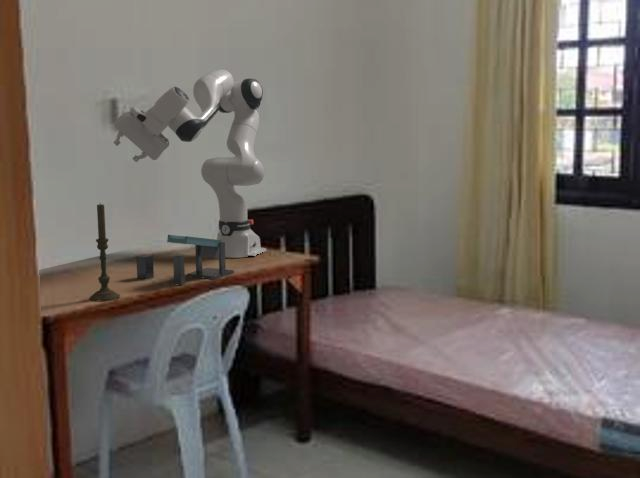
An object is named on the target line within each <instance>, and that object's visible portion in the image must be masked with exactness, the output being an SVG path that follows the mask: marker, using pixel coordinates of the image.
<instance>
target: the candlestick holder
mask: <svg viewBox="0 0 640 478" xmlns="http://www.w3.org/2000/svg"><path fill="white" fill-rule="evenodd" d="M96 211H97V215H96V216H97V233H98V235H97V236H98V238H96V239H95V242H96V243H97V244H96V247H97V250H99V251H100V253H99V260H100V269H101V272H100V273H101V274H100V276H99V277H98V283H99V284H100V286H101V287H100V288H99V290H97V291H95V292H94V293H93V294H91V295H90V296H89V300H91V301H93V300H101V301H100V302H103V301H102V300H111V299H115V298H118V297H119V296H120V297H121V295H120V293H117V292H116V291H115V290H113V289H110V288H109V285H108V284H109V283H110V279H111V277H110V276H109V275H108V274H107V264H106V263H107V262H106V261H107V252H106V250H107V249H108V247H109V245H108V242H109V238H107V235H106V233H107V232H106V214H105V213H106V212H105V204H101V202H99V204H96ZM118 299H119V298H118ZM111 301H112V300H111Z"/></svg>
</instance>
